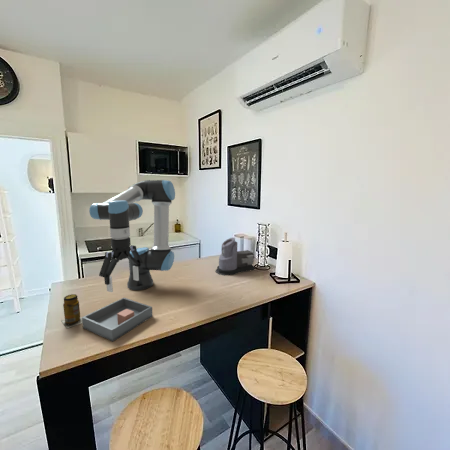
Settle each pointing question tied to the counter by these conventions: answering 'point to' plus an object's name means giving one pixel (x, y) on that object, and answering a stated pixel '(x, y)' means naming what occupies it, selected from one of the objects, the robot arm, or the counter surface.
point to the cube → (124, 315)
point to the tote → (108, 323)
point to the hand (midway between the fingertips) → (123, 285)
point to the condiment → (71, 311)
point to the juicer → (234, 259)
